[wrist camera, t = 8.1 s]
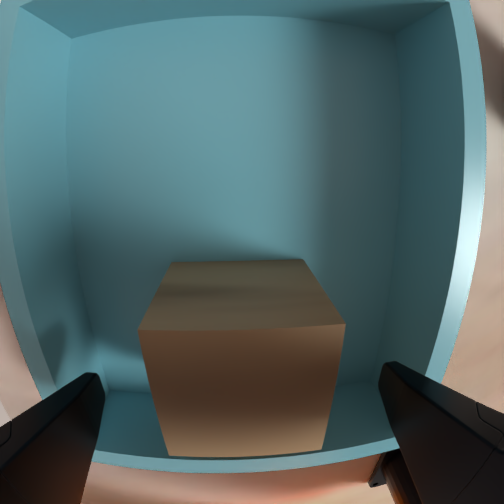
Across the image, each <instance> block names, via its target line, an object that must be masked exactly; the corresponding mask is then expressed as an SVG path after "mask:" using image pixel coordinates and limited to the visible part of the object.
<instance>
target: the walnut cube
mask: <svg viewBox="0 0 504 504" xmlns="http://www.w3.org/2000/svg"><path fill="white" fill-rule="evenodd" d="M345 326H346V323H345V322H344V320H343V319H342V317H341V315H340V314H339V312H338V311H337V309H336V308H335V306H334V305H333V303H332V302H331V300H330V299H329V297H328V296H327V294H326V293H325V291H324V290H323V288H322V287H321V285H320V283H319V282H318V280H317V279H316V277H315V276H314V275H313V273H312V272H311V270H310V269H309V267H308V266H307V264H306V263H305V261H304V260H303V259H290V260H250V261H205V262H171V264H170V266H169V268H168V270H167V272H166V274H165V276H164V278H163V279H162V281H161V283H160V285H159V287H158V289H157V291H156V293H155V295H154V297H153V299H152V301H151V303H150V305H149V307H148V309H147V311H146V313H145V315H144V317H143V319H142V322H141V324H140V326H139V328H138V335H139V340H140V345H141V350H142V355H143V360H144V364H145V369H146V373H147V377H148V382H149V386H150V390H151V394H152V398H153V402H154V405H155V409H156V413H157V417H158V420H159V424H160V427H161V431H162V434H163V437H164V441H165V444H166V447H167V450H168V454H169V456H188V457H245V456H264V455H278V454H289V453H298V452H306V451H314V450H321V449H322V445H323V441H324V437H325V433H326V428H327V424H328V419H329V415H330V410H331V405H332V400H333V396H334V391H335V385H336V380H337V375H338V369H339V364H340V358H341V352H342V346H343V339H344V333H345Z"/></svg>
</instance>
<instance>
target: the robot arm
mask: <svg viewBox="0 0 504 504" xmlns="http://www.w3.org/2000/svg"><path fill="white" fill-rule="evenodd" d="M378 389H379V392H380V395H381V398H382V402H383V405H384V408H385V411H386V415H387V418H388V421H389V424H390V427H391V429H392V432H393V434H394V436H395V438H396V441H397V443H398V445H399V448H398V449H394V450H391V451H387V452H383V453H382V455H381V457H380V460H379V462H378V464H377V466H376V468H375V470H374V472H373V474H372V476H371V478H370V480H369V482H368V484H369V486H370V487H376V486H380V485H384V484H387V486H388V488H389V490H390V493H391V495H392V497H393V500H394V502H395V504H504V414H503V413H501V412H498V411H496V410H494V409H492V408H489V407H487V406H485V405H483V404H481V403H479V402H476V401H475V400H473V399H471V398H468V397H466V396H464V395H462V394H460V393H458V392H456V391H454V390H452V389H450V388H448V387H446V386H444V385H442V384H440V383H438V382H436V381H434V380H432V379H430V378H428V377H426V376H424V375H422V374H420V373H419V372H417V371H415V370H413V369H411V368H409V367H407V366H405V365H403V364H401V363H399V362H397V361H390V362H385V363H384V364H383V366H382V369H381V373H380V377H379V381H378ZM104 404H105V391H104V388H103V385H102V382H101V379H100V376H99V375H98V374H97V373H92V372H85V373H84V374H82V375H81V376H79V377H77V378H76V379H74V380H73V381H71V382H70V383H68V384H67V385H65V386H64V387H62V388H60V389H59V390H57V391H56V392H54V393H53V394H51V395H50V396H48V397H47V398H45V399H43V400H42V401H40V402H39V403H37V404H36V405H34V406H33V407H31V408H29V409H28V410H26V411H25V412H23V413H22V414H20V415H18V416H17V417H15V418H14V419H12V421H9V422H7V423H6V424H4V425H3V426H1V427H0V504H80V503H81V499H82V495H83V491H84V487H85V483H86V479H87V476H88V472H89V468H90V465H91V461H92V457H93V454H94V450H95V447H96V444H97V440H98V436H99V431H100V425H101V419H102V414H103V409H104Z"/></svg>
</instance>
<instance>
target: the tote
mask: <svg viewBox="0 0 504 504" xmlns="http://www.w3.org/2000/svg"><path fill="white" fill-rule="evenodd" d="M485 175H486V110H485V95H484V83H483V74H482V66H481V58H480V52H479V45H478V40H477V34H476V29H475V24H474V19H473V15H472V11H471V6H470V2H469V0H1V3H0V283H1V287H2V291H3V295H4V298H5V302H6V305H7V309H8V312H9V315H10V319H11V322H12V325H13V328H14V331H15V334H16V337H17V340H18V342H19V345H20V348H21V351H22V353H23V356H24V358H25V361H26V363H27V366H28V368H29V371H30V373H31V375H32V378H33V380H34V382H35V385H36V387H37V389H38V391H39V393H40V395H41V398H42V400H43V399H45V398H47V397H48V396H50V395H51V394H53V393H54V392H56V391H57V390H59V389H60V388H62V387H64V386H65V385H67V384H68V383H70V382H71V381H73V380H74V379H76V378H77V377H79V376H81V375H82V374H84V373H85V372H92V373H97V374H98V375H99V376H100V379H101V382H102V385H103V388H104V391H105V404H104V409H103V414H102V419H101V425H100V431H99V436H98V440H97V444H96V447H95V450H94V454H93V457H92V462H98V463H103V464H109V465H115V466H122V467H129V468H137V469H146V470H156V471H168V472H185V473H248V472H265V471H277V470H288V469H297V468H305V467H312V466H319V465H325V464H331V463H337V462H342V461H348V460H353V459H357V458H362V457H366V456H371V455H375V454H379V453H383V452H387V451H391V450H394V449H398V448H399V445H398V443H397V441H396V438H395V436H394V434H393V432H392V429H391V427H390V424H389V421H388V418H387V415H386V411H385V408H384V405H383V402H382V398H381V395H380V392H379V389H378V381H379V377H380V373H381V369H382V366H383V364H384V363H385V362H390V361H397V362H399V363H401V364H403V365H405V366H407V367H409V368H411V369H413V370H415V371H417V372H419V373H420V374H422V375H424V376H426V377H428V378H430V379H432V380H434V381H436V382H438V383H440V384H441V382H442V379H443V376H444V374H445V371H446V368H447V365H448V363H449V360H450V357H451V354H452V351H453V348H454V345H455V341H456V338H457V335H458V332H459V328H460V325H461V321H462V318H463V314H464V310H465V306H466V302H467V298H468V294H469V290H470V285H471V281H472V276H473V271H474V266H475V261H476V255H477V249H478V243H479V236H480V229H481V221H482V213H483V203H484V191H485ZM290 259H303V260H304V261H305V263H306V264H307V266H308V267H309V269H310V270H311V272H312V273H313V275H314V276H315V277H316V279H317V280H318V282H319V283H320V285H321V287H322V288H323V290H324V291H325V293H326V294H327V296H328V297H329V299H330V300H331V302H332V303H333V305H334V306H335V308H336V309H337V311H338V312H339V314H340V315H341V317H342V319H343V320H344V322H345V323H346V326H345V333H344V339H343V346H342V352H341V358H340V364H339V369H338V375H337V380H336V385H335V391H334V396H333V400H332V405H331V410H330V415H329V419H328V424H327V428H326V433H325V437H324V441H323V445H322V449H321V450H314V451H306V452H298V453H289V454H278V455H264V456H245V457H188V456H169V454H168V450H167V447H166V444H165V441H164V437H163V434H162V431H161V427H160V424H159V420H158V417H157V413H156V409H155V405H154V402H153V398H152V394H151V390H150V386H149V382H148V377H147V373H146V369H145V364H144V360H143V355H142V350H141V345H140V340H139V335H138V328H139V326H140V324H141V322H142V319H143V317H144V315H145V313H146V311H147V309H148V307H149V305H150V303H151V301H152V299H153V297H154V295H155V293H156V291H157V289H158V287H159V285H160V283H161V281H162V279H163V278H164V276H165V274H166V272H167V270H168V268H169V266H170V264H171V262H205V261H250V260H290Z"/></svg>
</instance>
